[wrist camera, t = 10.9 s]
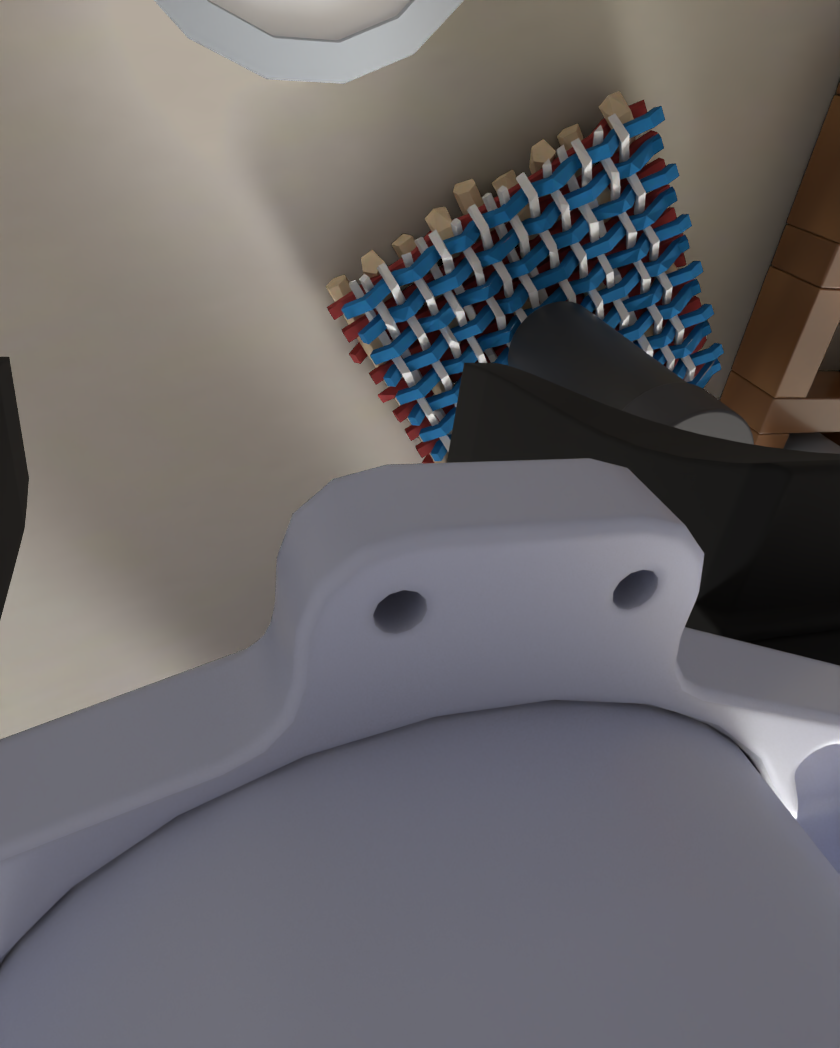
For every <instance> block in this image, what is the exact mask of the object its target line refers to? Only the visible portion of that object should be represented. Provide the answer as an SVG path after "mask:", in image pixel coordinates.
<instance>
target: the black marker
mask: <svg viewBox="0 0 840 1048" xmlns="http://www.w3.org/2000/svg"><path fill="white" fill-rule="evenodd" d="M508 365H509V366H511V367H514V368H517V369H520V370H523V371H526V372H528V373H531V374H533V375H536V376H538V377H541V378H543V379H546V380H548V381H550V382H553V383H555V384H557V385H560V386H562V387H565V388H567V389H569V390H572V391H574V392H576V393H579V394H581V395H584V396H586V397H588V398H591V399H593V400H596V401H598V402H601V403H603V404H606V405H609V406H611V407H614V408H617V409H619V410H622V411H625V412H627V413H630V414H633V415H636V416H639V417H642V418H645V419H648V420H651V421H654V422H658V423H661V424H665V425H668V426H672V427H675V428H679V429H682V430H686V431H690V432H694V433H698V434H702V435H706V436H711V437H716V438H721V439H726V440H731V441H736V442H741V443H747V444H753V445H754V440H753V435H752V432H751V430H750V427H749V425H748V424H747V422H746V421H745V420H744V419H743V418H742V417H741V416H740V415H739V414H737V413H736V412H735V411H733V410H732V409H730V408H729V407H728V406H726V405H725V404H724V403H722V402H721V401H719V400H718V399H717V398H715V397H714V396H712V395H711V394H710V393H708V392H707V391H706V390H704V389H703V388H701V387H699V386H697V385H694V384H690V383H687V382H686V381H684V380H683V379H682V378H680V377H679V376H678V375H676V374H675V373H673V372H672V371H671V370H669V369H668V368H667V367H665V366H664V365H663V364H661V363H660V362H658V361H657V360H656V359H654V358H653V357H652V356H650V355H649V354H648V353H646V352H645V351H643V350H642V349H641V348H639V347H638V346H637V345H635V344H634V343H633V342H631V341H630V340H628V339H627V338H626V337H624V336H623V335H622V334H620V333H619V332H618V331H616V330H615V329H613V328H612V327H611V326H609V325H608V324H607V323H605V322H604V321H603V320H601V319H600V318H598V317H597V316H596V315H594V314H593V313H592V312H590V311H589V310H588V309H586V308H585V307H583V306H582V305H579V304H577V303H574V302H568V301H560V302H554V303H550V304H547V305H544V306H542V307H540V308H538V309H537V310H535V311H534V312H532V313H531V314H530V315H529V316H528V317H527V318H526V319H524V321H523V322H522V323H521V324H520V326H519V327H518V328H517V330H516V332H515V334H514V335H513V338H512V340H511V343H510V347H509V352H508Z"/></svg>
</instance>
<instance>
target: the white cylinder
mask: <svg viewBox="0 0 840 1048" xmlns="http://www.w3.org/2000/svg"><path fill="white" fill-rule="evenodd" d="M154 1H155V2H156V3H157V4H158V5H159V6H160V8H161V9H162V10H163V11H164V12H165V13H166V14H167V15H168V16H169V17H170V19H171V20H172V21H173V22H174V23H175V24H176V25H177V26H178V27H179V29H180V30H181V31H182V32H183V33H184V34H185V35H186V36H187V37H188V38H189V39H191V40H193V41H194V42H196V43H198V44H200V45H202V46H204V47H206V48H208V49H210V50H212V51H214V52H216V53H217V54H219V55H221V56H223V57H225V58H227V59H229V60H231V61H233V62H235V63H237V64H239V65H240V66H242V67H244V68H246V69H248V70H250V71H252V72H254V73H256V74H258V75H260V76H262V77H263V78H265V79H272V80H289V81H306V82H323V83H341V84H345V83H347V82H349V81H352V80H354V79H356V78H359V77H361V76H363V75H366V74H368V73H371V72H373V71H375V70H378V69H380V68H382V67H385V66H387V65H390V64H392V63H394V62H397V61H399V60H401V59H404V58H406V57H409V56H411V55H413V54H414V53H415V52H416V51H417V50H418V49H419V48H420V47H421V46H422V45H423V44H424V43H425V42H426V41H427V40H428V38H429V37H430V36H431V35H432V34H433V33H434V32H435V31H436V30H437V29H438V28H439V27H440V26H441V25H442V23H443V22H444V21H445V20H446V19H447V18H448V17H449V16H450V15H451V14H452V13H453V12H454V11H455V10H456V8H457V7H458V6H459V5H460V4H461V3H462V2H463V1H464V0H154Z"/></svg>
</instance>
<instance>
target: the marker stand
mask: <svg viewBox="0 0 840 1048" xmlns="http://www.w3.org/2000/svg"><path fill="white" fill-rule="evenodd" d="M836 94H837V95H835V96H834V97H833V99H832V102H831V105H830V107H829V110H828V113H827V115H826V118H825V121H824V123H823V126H822V129H821V131H820V134H819V137H818V139H817V142H816V145H815V147H814V150H813V153H812V155H811V158H810V161H809V163H808V166H807V169H806V171H805V174H804V177H803V179H802V182H801V185H800V187H799V190H798V193H797V195H796V198H795V201H794V203H793V206H792V209H791V211H790V214H789V217H788V219H787V224H788V225H786V226H785V229H784V231H783V234H782V237H781V239H780V242H779V245H778V247H777V250H776V253H775V255H774V258H773V261H772V264H771V265H772V266H770V267H769V270H768V272H767V275H766V278H765V280H764V283H763V286H762V288H761V291H760V294H759V296H758V299H757V302H756V304H755V307H754V310H753V312H752V315H751V318H750V320H749V323H748V326H747V328H746V331H745V334H744V336H743V339H742V342H741V344H740V347H739V350H738V352H737V355H736V358H735V360H734V363H733V366H732V371H731V372H730V374H729V377H728V380H727V382H726V385H725V388H724V390H723V393H722V396H721V398H720V401H721V402H722V403H724V404H725V405H726V406H728V407H729V408H730V409H732V410H733V411H735V412H736V413H737V414H739V415H740V416H741V417H742V418H743V419H744V420H745V421H746V422H747V424H748V425H749V427H750V430H751V432H752V435H753V440H754V445H760V446H766V447H773V448H781V449H783V448H784V446H785V444H786V442H787V439H788V437H789V433H813V432H819V433H821V434H822V435H824V436H825V437H827V438H828V439H830V440H831V441H833V442H834V443H836V444H837V445H839V446H840V371H818V369H819V367H820V364H821V362H822V360H823V358H824V355H825V353H826V351H827V348H828V346H829V344H830V342H831V339H832V337H833V335H834V333H835V330H836V328H837V326H838V323H839V321H840V82H839V85H838V87H837V90H836Z"/></svg>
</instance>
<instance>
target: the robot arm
mask: <svg viewBox="0 0 840 1048" xmlns="http://www.w3.org/2000/svg"><path fill="white" fill-rule="evenodd" d="M28 482H29V476H28V469H27V463H26V457H25V451H24V445H23V439H22V433H21V427H20V421H19V414H18V408H17V402H16V396H15V390H14V384H13V378H12V372H11V366H10V359H9V357H0V619H1V615H2V612H3V608H4V604H5V600H6V597H7V593H8V589H9V586H10V582H11V578H12V574H13V571H14V567H15V563H16V559H17V556H18V552H19V548H20V544H21V540H22V536H23V532H24V528H25V518H26V508H27V496H28ZM0 1048H840V454H834V453H817V452H806V451H798V450H790V449H781V448H773V447H766V446H760V445H753V444H747V443H741V442H736V441H731V440H726V439H721V438H716V437H711V436H706V435H702V434H698V433H694V432H690V431H686V430H682V429H679V428H675V427H672V426H668V425H665V424H661V423H658V422H654V421H651V420H648V419H645V418H642V417H639V416H636V415H633V414H630V413H627V412H625V411H622V410H619V409H617V408H614V407H611V406H609V405H606V404H603V403H601V402H598V401H596V400H593V399H591V398H588V397H586V396H584V395H581V394H579V393H576V392H574V391H572V390H569V389H567V388H565V387H562V386H560V385H557V384H555V383H553V382H550V381H548V380H546V379H543V378H541V377H538V376H536V375H533V374H531V373H528V372H526V371H523V370H520V369H517V368H514V367H511V366H508V365H504V364H498V363H464V366H463V372H462V377H461V383H460V389H459V395H458V400H457V406H456V412H455V418H454V423H453V429H452V435H451V441H450V446H449V452H448V458H447V463H423V464H391V465H383V466H380V467H376V468H372V469H368V470H365V471H361V472H357V473H353V474H350V475H346V476H342V477H338V478H335V479H333V480H332V481H330V482H329V483H328V484H327V485H326V486H325V487H323V488H322V489H321V490H320V491H319V492H318V493H316V494H315V495H314V496H313V497H312V498H311V499H309V500H308V501H307V502H306V503H305V504H303V505H302V506H301V507H300V508H299V509H298V510H296V511H295V512H294V513H293V514H292V517H291V520H290V523H289V525H288V528H287V531H286V534H285V536H284V539H283V542H282V544H281V547H280V550H279V553H278V555H277V565H276V589H275V605H274V610H273V614H272V619H271V623H270V625H269V627H268V628H267V630H266V632H265V634H264V635H263V636H262V637H261V638H260V639H259V640H257V641H256V642H255V643H254V644H252V645H251V646H250V647H248V648H247V649H244V650H241V651H239V652H236V653H233V654H230V655H228V656H225V657H222V658H220V659H217V660H214V661H212V662H209V663H206V664H203V665H201V666H198V667H195V668H193V669H190V670H187V671H184V672H182V673H179V674H176V675H174V676H171V677H168V678H165V679H163V680H160V681H157V682H155V683H152V684H149V685H147V686H144V687H141V688H138V689H136V690H133V691H130V692H128V693H125V694H122V695H119V696H117V697H114V698H111V699H109V700H106V701H103V702H100V703H98V704H95V705H92V706H90V707H87V708H84V709H82V710H79V711H76V712H73V713H71V714H68V715H65V716H63V717H60V718H57V719H54V720H52V721H49V722H46V723H44V724H41V725H38V726H35V727H33V728H30V729H27V730H25V731H22V732H19V733H17V734H14V735H11V736H8V737H6V738H3V739H0Z"/></svg>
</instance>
